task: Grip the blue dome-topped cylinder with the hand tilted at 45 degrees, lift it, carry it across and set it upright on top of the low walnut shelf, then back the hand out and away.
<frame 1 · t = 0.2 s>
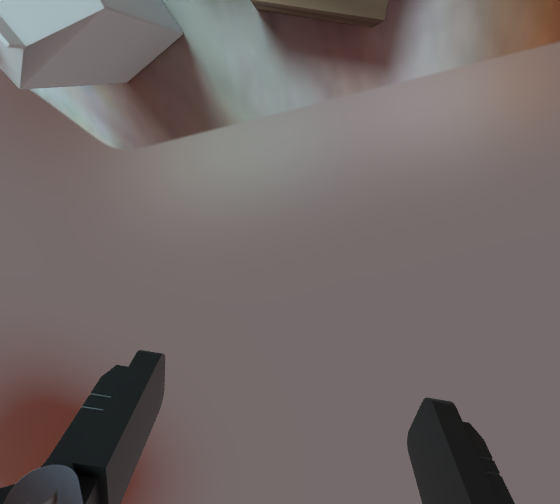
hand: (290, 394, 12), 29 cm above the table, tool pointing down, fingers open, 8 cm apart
milk carton: (128, 22, 33), on the table
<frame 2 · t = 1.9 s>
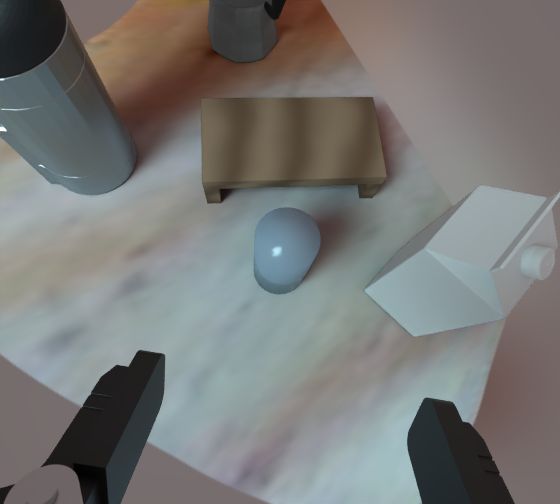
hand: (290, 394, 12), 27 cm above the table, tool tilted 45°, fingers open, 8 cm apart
shelf: (288, 162, 44), on the table
blue dome-topped cylinder: (279, 269, 40), on the table
coffeepot: (247, 43, 49), on the table
milk carton: (406, 291, 41), on the table
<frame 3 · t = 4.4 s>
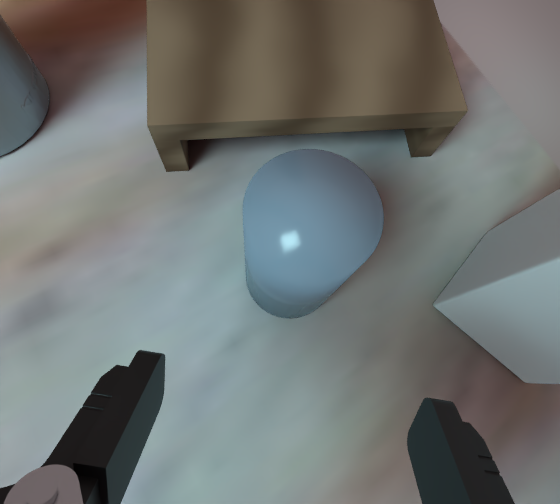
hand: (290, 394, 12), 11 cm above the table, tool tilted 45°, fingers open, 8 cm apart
shelf: (294, 105, 28), on the table
blue dome-topped cylinder: (288, 275, 24), on the table
milk carton: (502, 303, 25), on the table
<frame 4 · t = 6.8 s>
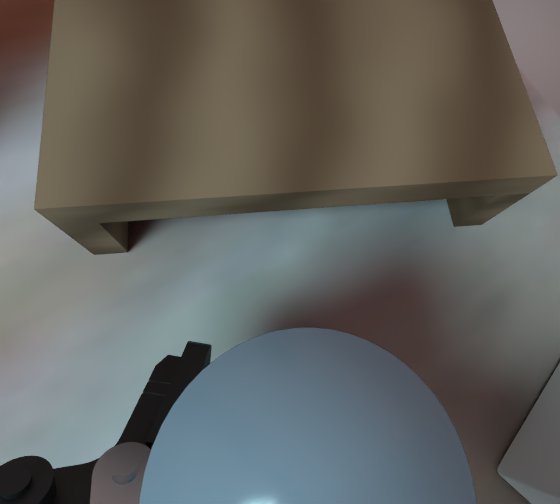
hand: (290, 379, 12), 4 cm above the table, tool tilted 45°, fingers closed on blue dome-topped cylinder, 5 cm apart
shelf: (286, 149, 20), on the table
blue dome-topped cylinder: (275, 422, 16), on the table, touching gripper
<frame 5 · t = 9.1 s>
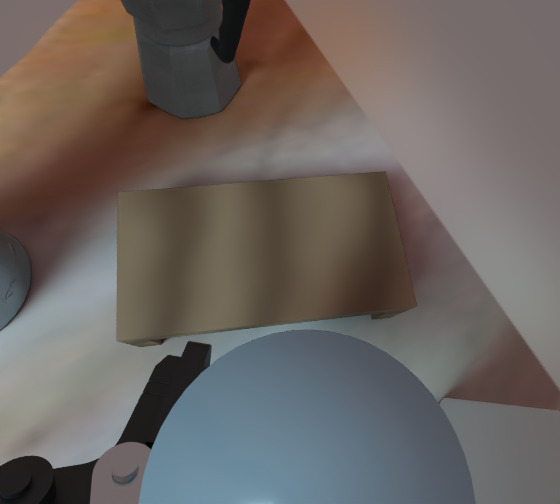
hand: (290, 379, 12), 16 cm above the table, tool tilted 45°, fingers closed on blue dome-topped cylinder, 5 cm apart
shelf: (262, 268, 30), on the table
blue dome-topped cylinder: (274, 423, 16), point 12 cm above the table, touching gripper
coffeepot: (199, 89, 35), on the table
milk carton: (455, 472, 26), on the table
when the fingers open (11 cm above the table, at t = 11.5 s): blue dome-topped cylinder drops 1 cm, resting on shelf.
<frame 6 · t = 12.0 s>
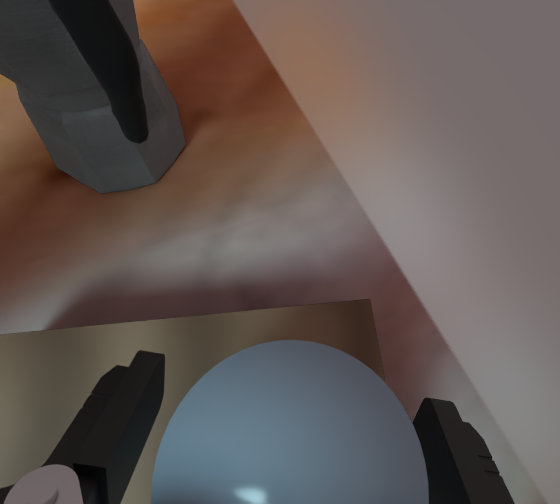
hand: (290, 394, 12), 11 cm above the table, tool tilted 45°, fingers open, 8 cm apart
shelf: (197, 417, 21), on the table
blue dome-topped cylinder: (269, 421, 17), point 5 cm above the table, touching shelf
coffeepot: (130, 149, 26), on the table
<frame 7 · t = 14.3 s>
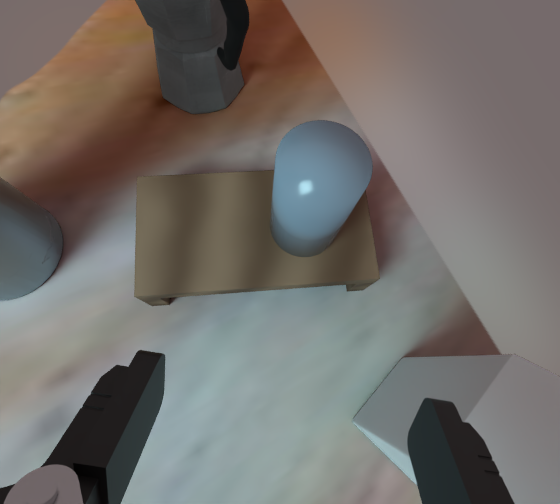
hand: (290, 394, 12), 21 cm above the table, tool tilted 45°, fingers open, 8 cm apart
shelf: (256, 245, 35), on the table
blue dome-topped cylinder: (303, 224, 31), point 5 cm above the table, touching shelf
coffeepot: (207, 87, 40), on the table
milk carton: (408, 417, 32), on the table
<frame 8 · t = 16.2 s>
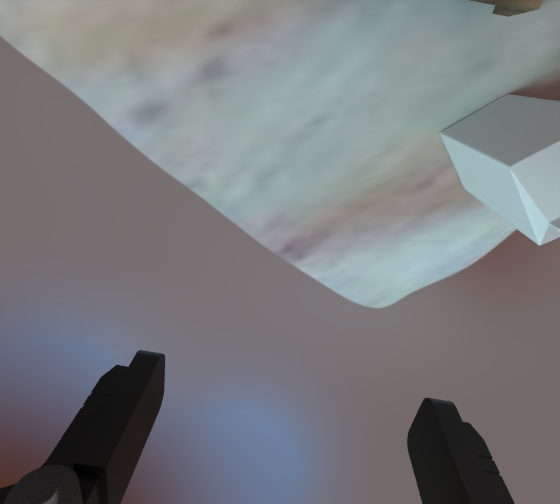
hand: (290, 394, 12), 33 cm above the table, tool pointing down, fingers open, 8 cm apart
milk carton: (483, 143, 40), on the table
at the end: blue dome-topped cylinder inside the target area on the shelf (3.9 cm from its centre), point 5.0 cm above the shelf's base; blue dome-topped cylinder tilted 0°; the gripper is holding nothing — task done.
